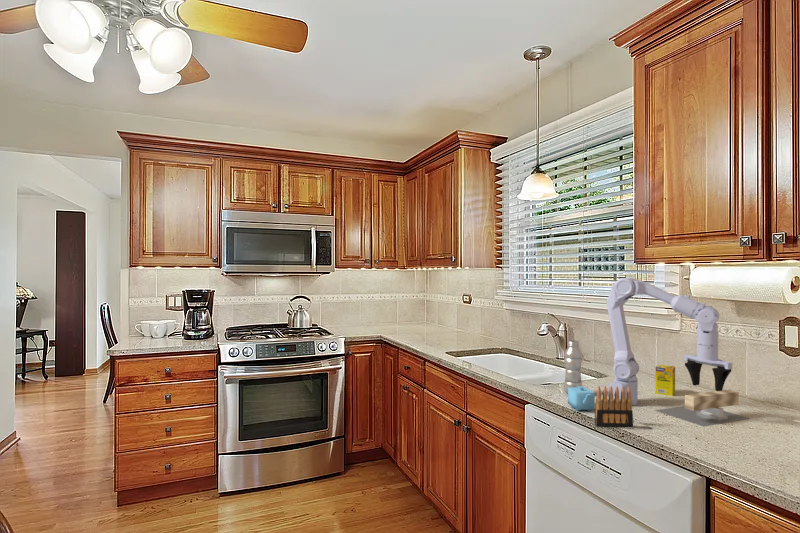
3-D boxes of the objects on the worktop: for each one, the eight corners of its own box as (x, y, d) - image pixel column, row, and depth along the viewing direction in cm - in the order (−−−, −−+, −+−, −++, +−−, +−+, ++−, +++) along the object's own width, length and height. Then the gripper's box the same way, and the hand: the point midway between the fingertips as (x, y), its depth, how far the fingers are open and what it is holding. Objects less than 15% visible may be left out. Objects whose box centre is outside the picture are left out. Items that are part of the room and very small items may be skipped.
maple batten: (693, 410, 146) (693, 397, 146) (684, 408, 149) (684, 395, 149) (738, 404, 153) (738, 391, 153) (729, 401, 156) (729, 389, 156)
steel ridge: (718, 421, 147) (718, 410, 147) (696, 415, 154) (696, 404, 154) (727, 420, 149) (728, 408, 149) (706, 413, 155) (706, 402, 155)
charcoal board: (703, 429, 143) (703, 426, 143) (654, 413, 158) (654, 410, 158) (751, 421, 150) (751, 418, 150) (699, 406, 166) (699, 404, 166)
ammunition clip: (630, 425, 146) (631, 385, 146) (633, 427, 144) (633, 387, 144) (594, 424, 147) (594, 385, 147) (596, 426, 145) (596, 386, 145)
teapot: (599, 415, 156) (599, 392, 156) (580, 415, 156) (580, 392, 156) (583, 404, 168) (583, 383, 168) (566, 404, 168) (566, 383, 168)
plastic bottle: (584, 396, 178) (584, 342, 179) (564, 395, 180) (565, 341, 180) (581, 392, 185) (581, 340, 185) (562, 391, 186) (562, 339, 186)
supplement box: (673, 398, 176) (673, 368, 176) (654, 396, 180) (654, 366, 180) (675, 395, 181) (675, 366, 181) (657, 392, 185) (657, 364, 185)
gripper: (739, 347, 148) (739, 392, 148) (695, 340, 161) (694, 381, 161) (723, 348, 145) (722, 394, 145) (679, 341, 159) (679, 383, 159)
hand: (707, 387), depth 153 cm, fingers open, 7 cm apart
